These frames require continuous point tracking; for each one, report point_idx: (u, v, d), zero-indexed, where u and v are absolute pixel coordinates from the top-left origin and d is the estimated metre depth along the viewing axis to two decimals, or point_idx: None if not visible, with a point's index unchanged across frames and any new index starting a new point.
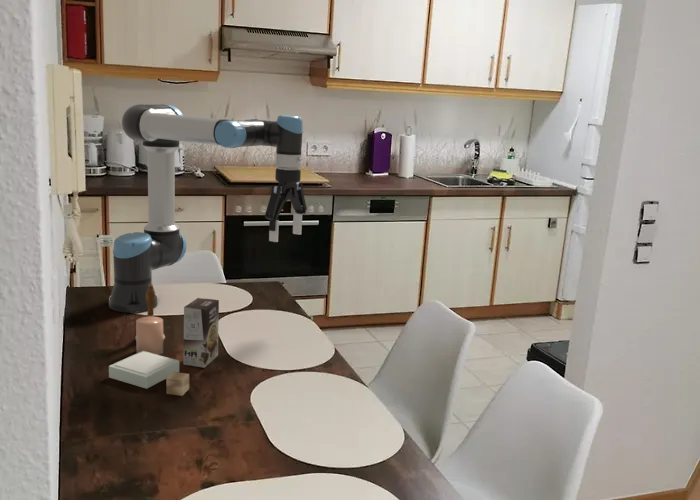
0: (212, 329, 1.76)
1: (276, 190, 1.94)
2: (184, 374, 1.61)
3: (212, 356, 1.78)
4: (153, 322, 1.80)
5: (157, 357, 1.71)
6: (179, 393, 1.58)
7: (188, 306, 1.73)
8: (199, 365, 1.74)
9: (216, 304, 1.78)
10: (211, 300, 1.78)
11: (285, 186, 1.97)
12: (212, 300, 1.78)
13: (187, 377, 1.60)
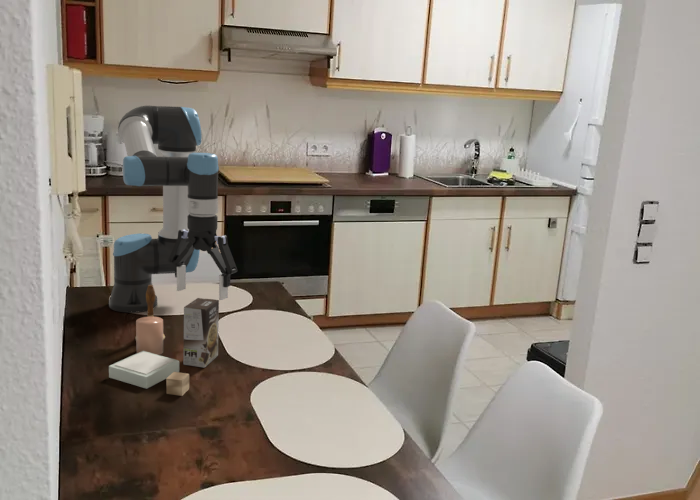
0: (212, 329, 1.76)
1: None
2: (184, 374, 1.61)
3: (212, 356, 1.78)
4: (153, 322, 1.80)
5: (157, 357, 1.71)
6: (179, 393, 1.58)
7: (188, 306, 1.73)
8: (199, 365, 1.74)
9: (216, 304, 1.78)
10: (211, 300, 1.78)
11: (190, 232, 1.71)
12: (212, 300, 1.78)
13: (187, 377, 1.60)
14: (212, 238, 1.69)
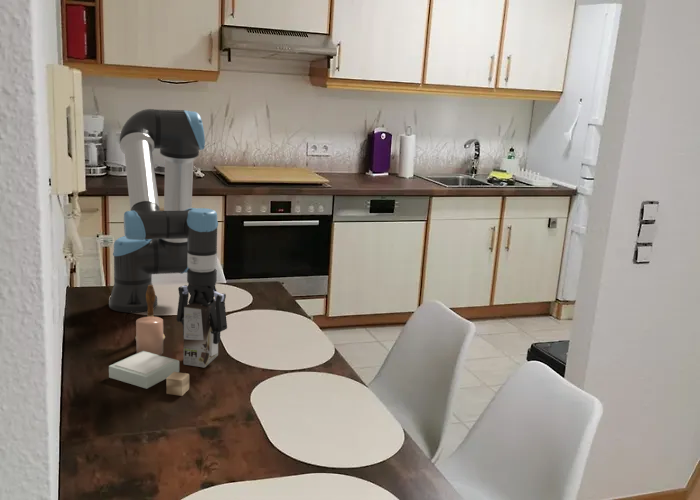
0: None
1: None
2: (184, 374, 1.61)
3: (212, 356, 1.78)
4: (153, 322, 1.80)
5: (157, 357, 1.71)
6: (179, 393, 1.58)
7: (188, 306, 1.73)
8: (199, 365, 1.74)
9: None
10: None
11: (189, 286, 1.75)
12: None
13: (187, 377, 1.60)
14: (211, 293, 1.72)
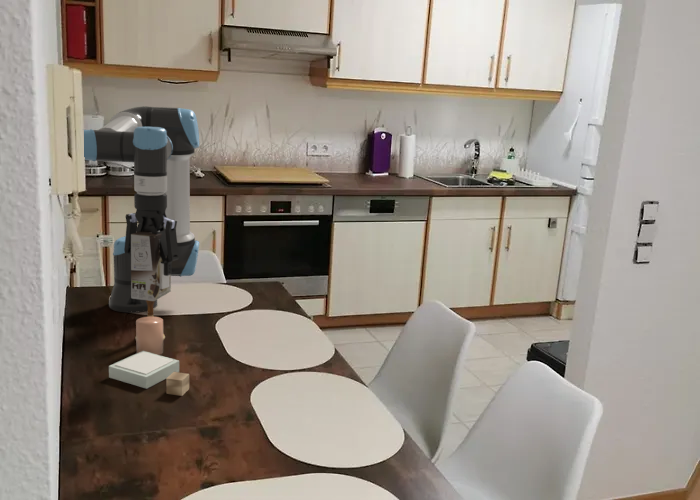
0: None
1: None
2: (184, 374, 1.61)
3: (163, 290, 1.64)
4: (153, 322, 1.80)
5: (157, 357, 1.71)
6: (179, 393, 1.58)
7: (135, 233, 1.58)
8: (148, 298, 1.60)
9: None
10: None
11: (137, 212, 1.60)
12: None
13: (187, 377, 1.60)
14: (161, 219, 1.58)
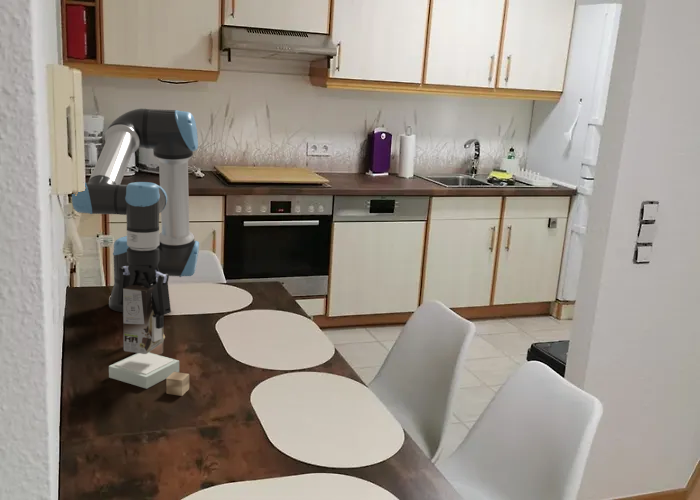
0: None
1: None
2: (184, 374, 1.61)
3: (155, 342, 1.66)
4: None
5: (157, 357, 1.71)
6: (179, 393, 1.58)
7: (128, 287, 1.60)
8: (140, 351, 1.62)
9: None
10: None
11: (130, 266, 1.62)
12: None
13: (187, 377, 1.60)
14: (153, 274, 1.60)
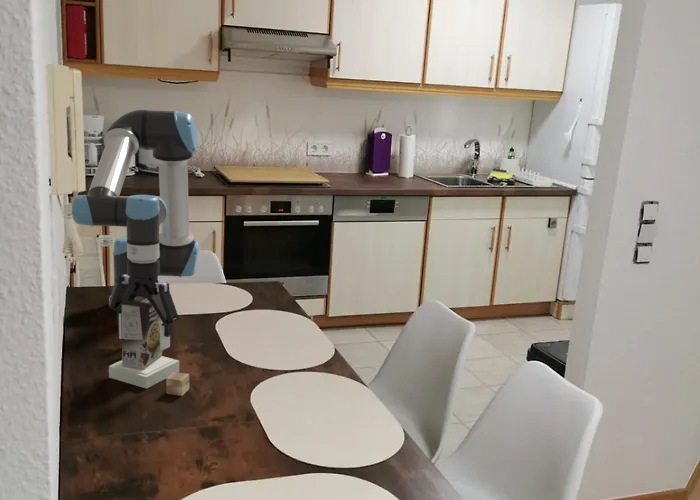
0: (153, 328, 1.65)
1: None
2: (184, 374, 1.61)
3: (154, 356, 1.67)
4: None
5: None
6: (179, 393, 1.58)
7: (126, 303, 1.62)
8: (139, 366, 1.64)
9: None
10: None
11: (130, 278, 1.63)
12: None
13: (187, 377, 1.60)
14: (153, 285, 1.60)
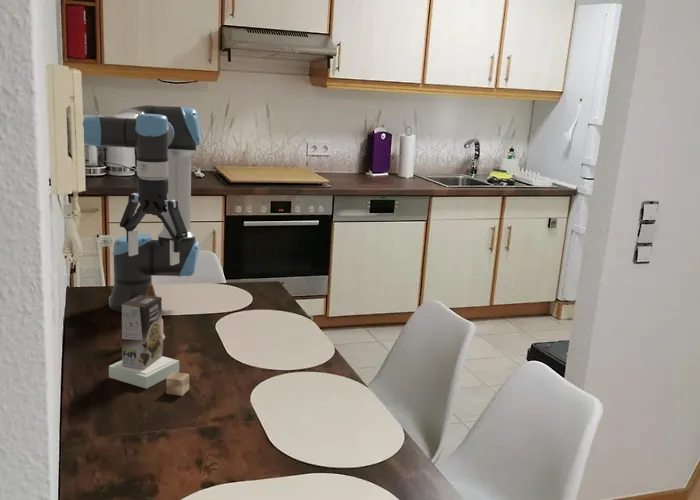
0: (153, 328, 1.65)
1: None
2: (184, 374, 1.61)
3: (154, 356, 1.67)
4: None
5: None
6: (179, 393, 1.58)
7: (126, 303, 1.62)
8: (139, 366, 1.64)
9: (158, 301, 1.67)
10: (153, 297, 1.68)
11: (140, 196, 1.68)
12: (154, 297, 1.68)
13: (187, 377, 1.60)
14: (162, 202, 1.65)
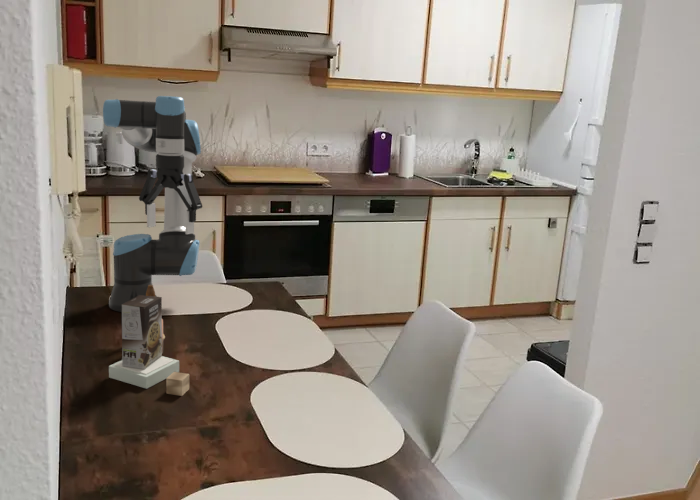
0: (153, 328, 1.65)
1: None
2: (184, 374, 1.61)
3: (154, 356, 1.67)
4: None
5: None
6: (179, 393, 1.58)
7: (126, 303, 1.62)
8: (139, 366, 1.64)
9: (158, 301, 1.67)
10: (153, 297, 1.68)
11: (158, 171, 1.84)
12: (154, 297, 1.68)
13: (187, 377, 1.60)
14: (179, 176, 1.81)
